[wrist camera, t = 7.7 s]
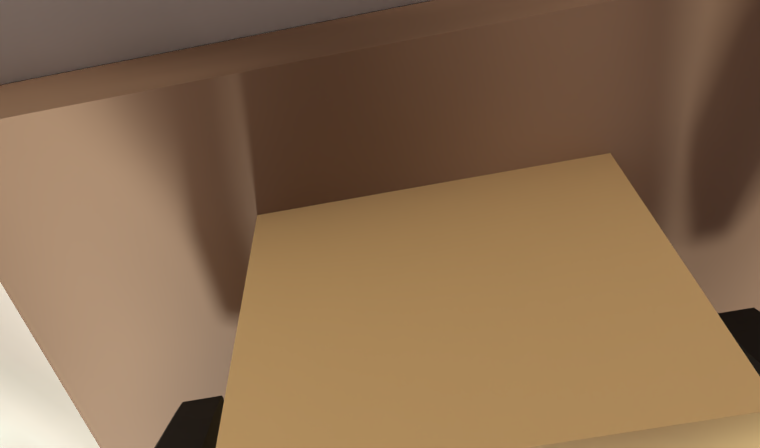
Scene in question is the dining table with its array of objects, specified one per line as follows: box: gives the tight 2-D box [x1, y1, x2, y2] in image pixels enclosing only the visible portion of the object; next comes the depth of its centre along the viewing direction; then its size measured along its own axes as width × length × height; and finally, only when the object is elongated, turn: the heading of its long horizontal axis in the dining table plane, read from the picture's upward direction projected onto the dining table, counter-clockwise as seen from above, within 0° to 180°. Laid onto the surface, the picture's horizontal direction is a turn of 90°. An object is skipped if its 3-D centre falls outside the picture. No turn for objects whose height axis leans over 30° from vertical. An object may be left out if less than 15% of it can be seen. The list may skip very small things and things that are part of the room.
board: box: [0, 0, 760, 448], centre depth 14 cm, size 22×16×2 cm
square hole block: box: [216, 153, 760, 448], centre depth 10 cm, size 5×5×5 cm
